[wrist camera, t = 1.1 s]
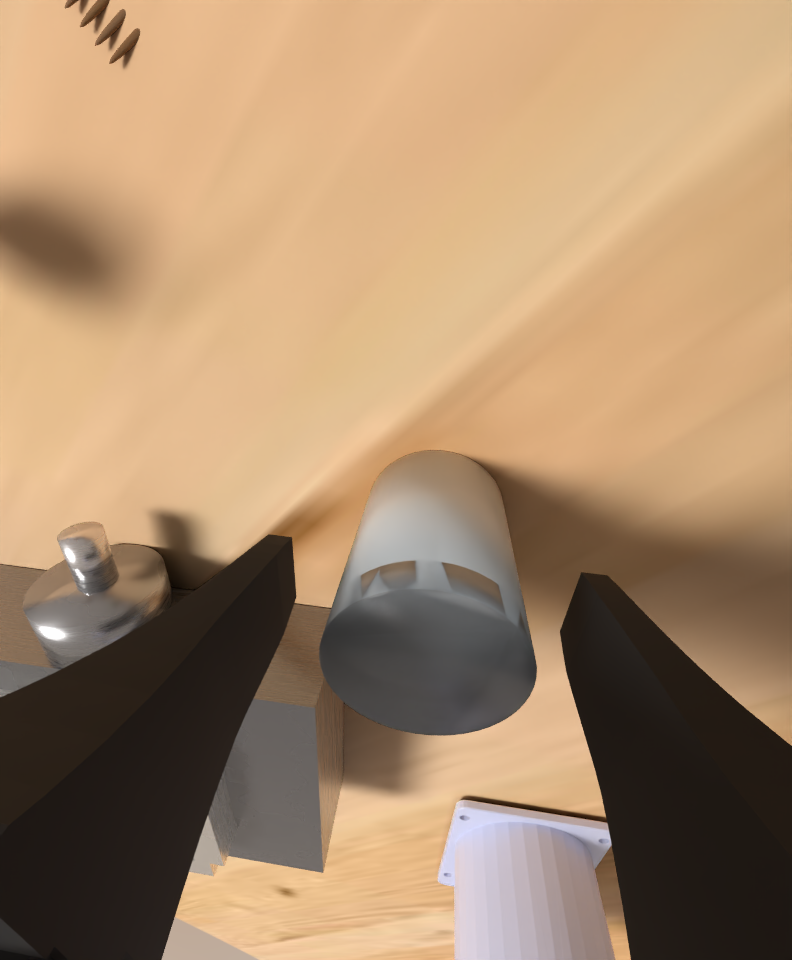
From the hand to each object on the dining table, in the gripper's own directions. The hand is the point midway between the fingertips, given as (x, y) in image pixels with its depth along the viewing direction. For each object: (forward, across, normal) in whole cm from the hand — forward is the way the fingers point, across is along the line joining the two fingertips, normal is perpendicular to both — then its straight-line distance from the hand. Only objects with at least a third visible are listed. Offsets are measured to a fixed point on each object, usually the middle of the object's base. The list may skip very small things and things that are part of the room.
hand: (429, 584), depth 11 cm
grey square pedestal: (+4, +11, +9) cm, 15 cm away
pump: (+4, 0, 0) cm, 4 cm away
